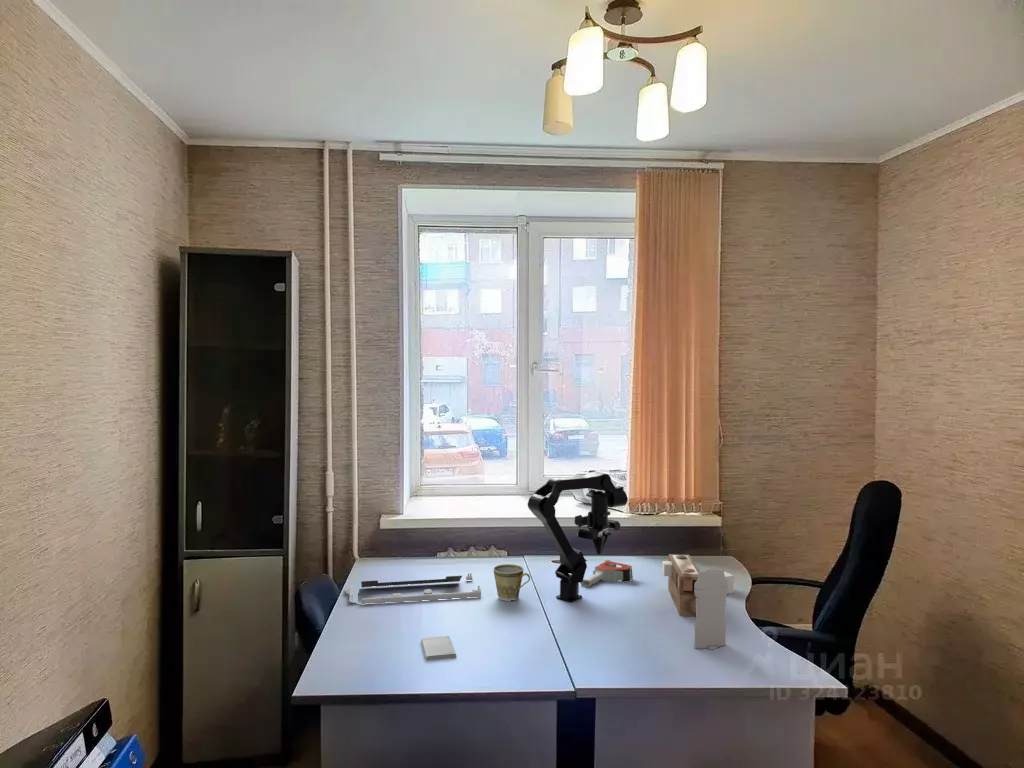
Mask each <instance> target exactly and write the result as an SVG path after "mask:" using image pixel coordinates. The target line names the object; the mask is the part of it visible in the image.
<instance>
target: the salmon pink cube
mask: <svg viewBox="0 0 1024 768" xmlns="http://www.w3.org/2000/svg"><path fill="white" fill-rule="evenodd" d="M678 588H679V576H678ZM692 589H693V580H684V583H683V591H692Z"/></svg>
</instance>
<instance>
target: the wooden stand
mask: <svg viewBox="0 0 1024 768" xmlns="http://www.w3.org/2000/svg"><path fill="white" fill-rule="evenodd" d="M668 561H671V562H672V576H667V577H668V581H667V583H668V584H667V585H668V586H667V587H668V588H667V590H668V592H670V593H669V595H670V594H671V595H670V597H671V599H672V601H674V602H673V604H674V606H675V608H677V609H676V611H677V610H678V611H677V613H678V615H679V617H697V616H696V604H697V603H696V599H697V598H696V597H695V594H694V583H695V582H696V581H697V580H698V576H699V571H700V570H699V568H698V567H697V565H696V563H695V562H694V560H693V558H692V557H691V555H690V554H677V553H675V554H674V553H673V554H672V553H670V554H669V553H668ZM678 576H679V588H678ZM684 580H693V589H692V591H683V583H684Z"/></svg>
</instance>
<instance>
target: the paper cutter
mask: <svg viewBox="0 0 1024 768" xmlns="http://www.w3.org/2000/svg"><path fill="white" fill-rule="evenodd" d="M462 577H463V575H451V576H450V575H449V576H445V578H439V579H437V578H436V579H435V578H434V579H423V580H422V579H421V580H420V579H419V580H402V581H401V580H400V581H385V582H379V580H364V581H361V583H360V585H361V588H372V586H376V587H391V585H393V586H409V585H408V584H410V585H422V584H437V583H438V584H439V583H440V584H441V583H443V584H444V583H457V582H458V583H459V582H461V580H462ZM466 580H472V581H473V574H472V573H469V572H467V576H466V577H465V581H466ZM389 585H390V586H389ZM354 586H355V585H352V584H350V585H348V586H347V587H346V588H345V589H344V591H345V593H346V594H347V595H349V597H348V598H349V599H348V603H351V604H354V603H357V602H356V601H353V591H354V590H353V589H354ZM480 587H481V586H480V585H477V589H472V591H463V592H447V593H433V592H432V589H431V588H428V589H424V590H423V594H413V595H403V594H402V592H400V593H399V592H397V593H390V596H385V597H384V596H383V597H381V596H380V597H367V598H365V597H364V598H361V603H362V604H365V603H385V602H404V601H422V600H438V599H452V598H467V597H481V598H482V590H481V588H480Z"/></svg>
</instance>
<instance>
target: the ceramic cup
mask: <svg viewBox="0 0 1024 768" xmlns="http://www.w3.org/2000/svg"><path fill="white" fill-rule="evenodd" d="M493 576H494V581H495V586H496V591H497V593H496V594H497V597H499V598H498V599H499V600H500V599H501V600H500V601H502V600H505V601H504V602H507V601H508V602H512V601H511V600H515V601H517V600H519V597H520V591H521V588H523V587H524V586H525V585H526V584H528V583H529V582H530V580H531V576H530V574H529V573H526V572H524V567H523V566H521V565H518V564H512V563H505V564H499V565H496V566H494V567H493ZM524 576H526V577H528V580H527V581H525V582H524V583H523V584H522V580H523V577H524ZM516 599H517V600H516Z"/></svg>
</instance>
